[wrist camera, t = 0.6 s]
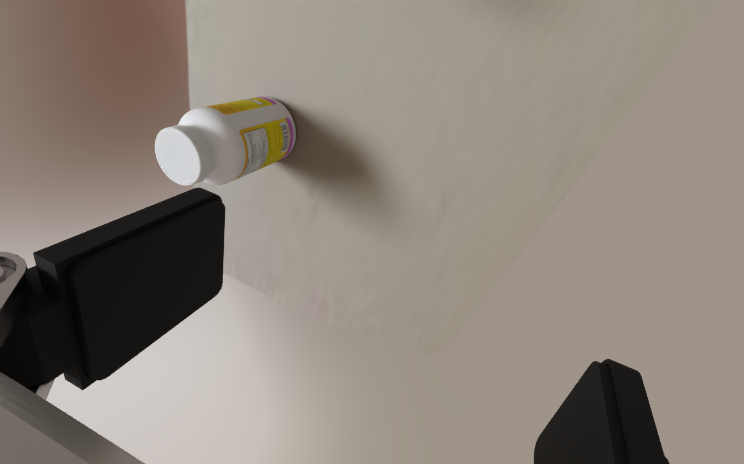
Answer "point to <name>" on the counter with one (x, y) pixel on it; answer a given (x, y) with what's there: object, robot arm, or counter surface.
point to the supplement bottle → (225, 141)
